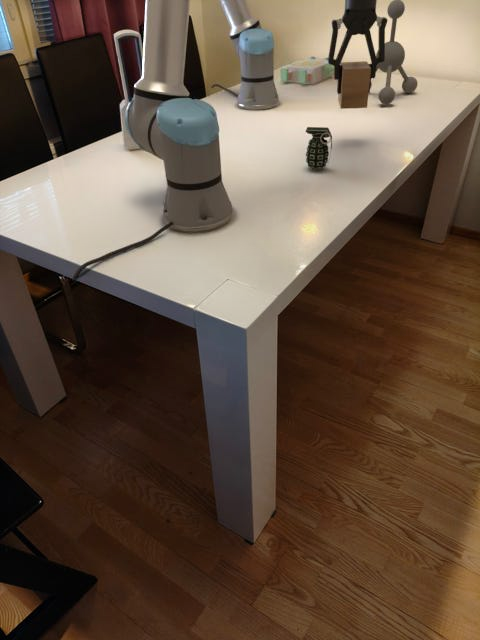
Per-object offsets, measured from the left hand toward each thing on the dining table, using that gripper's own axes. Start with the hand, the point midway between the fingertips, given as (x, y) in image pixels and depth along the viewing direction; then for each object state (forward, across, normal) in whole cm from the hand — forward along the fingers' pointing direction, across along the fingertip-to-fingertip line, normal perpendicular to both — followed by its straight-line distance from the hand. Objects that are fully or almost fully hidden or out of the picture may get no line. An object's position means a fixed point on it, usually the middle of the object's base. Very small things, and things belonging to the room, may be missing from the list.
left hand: (353, 91), depth 132 cm
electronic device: (+14, +61, -4) cm, 63 cm away
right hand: (-16, -1, -64) cm, 66 cm away
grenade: (+14, +10, +19) cm, 26 cm away
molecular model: (+14, -20, -51) cm, 56 cm away
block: (+3, 0, 0) cm, 3 cm away
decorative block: (+14, +9, -84) cm, 86 cm away
